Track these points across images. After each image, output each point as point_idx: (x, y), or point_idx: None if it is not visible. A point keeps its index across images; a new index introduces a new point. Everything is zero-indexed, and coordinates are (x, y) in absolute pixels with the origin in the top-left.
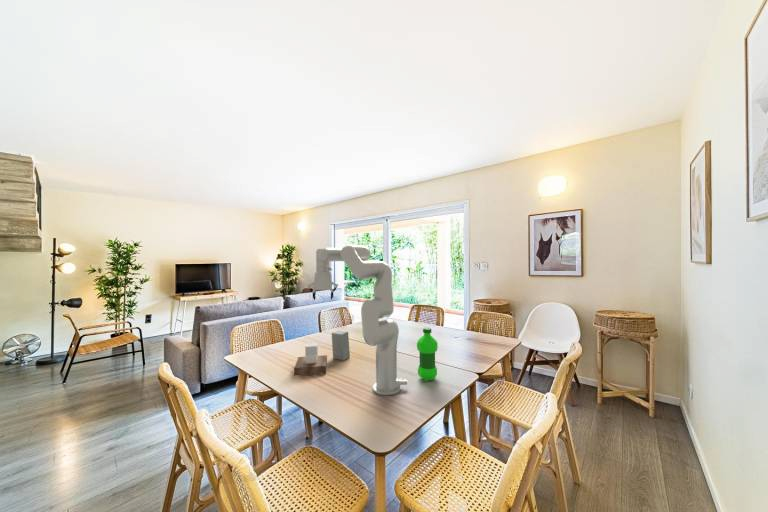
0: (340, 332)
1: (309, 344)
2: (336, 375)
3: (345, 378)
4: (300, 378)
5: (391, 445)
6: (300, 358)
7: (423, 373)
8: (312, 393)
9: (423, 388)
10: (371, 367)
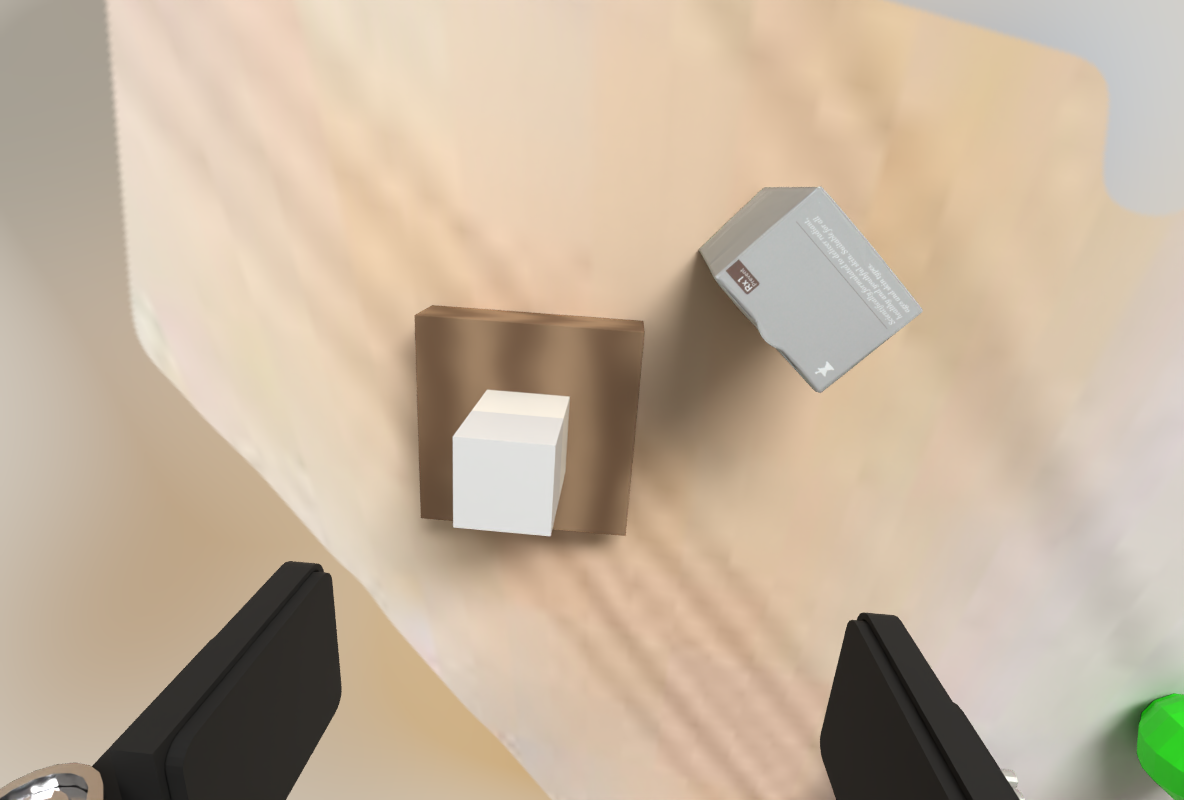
0: (823, 308)
1: (482, 474)
2: (685, 552)
3: (730, 600)
4: (477, 536)
5: None
6: (436, 352)
7: (1160, 786)
8: (552, 700)
9: (1078, 789)
10: (932, 497)
